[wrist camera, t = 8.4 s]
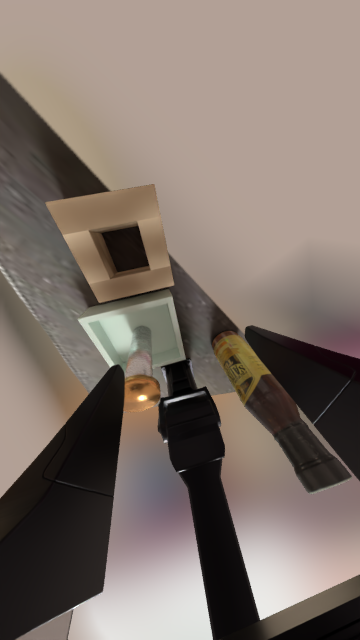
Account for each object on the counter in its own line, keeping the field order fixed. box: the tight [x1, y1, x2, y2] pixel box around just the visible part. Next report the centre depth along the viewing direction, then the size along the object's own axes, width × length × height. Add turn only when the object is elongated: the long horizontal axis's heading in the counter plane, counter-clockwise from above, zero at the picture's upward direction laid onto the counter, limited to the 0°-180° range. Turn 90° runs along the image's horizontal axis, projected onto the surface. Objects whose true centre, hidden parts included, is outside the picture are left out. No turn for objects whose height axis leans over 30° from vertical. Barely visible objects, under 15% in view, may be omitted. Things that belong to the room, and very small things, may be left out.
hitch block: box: [45, 184, 174, 303], centre depth 15 cm, size 9×9×4 cm
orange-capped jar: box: [123, 326, 160, 412], centre depth 17 cm, size 4×4×11 cm
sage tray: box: [78, 289, 186, 373], centre depth 21 cm, size 12×12×4 cm
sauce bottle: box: [212, 331, 352, 494], centre depth 20 cm, size 7×6×20 cm
